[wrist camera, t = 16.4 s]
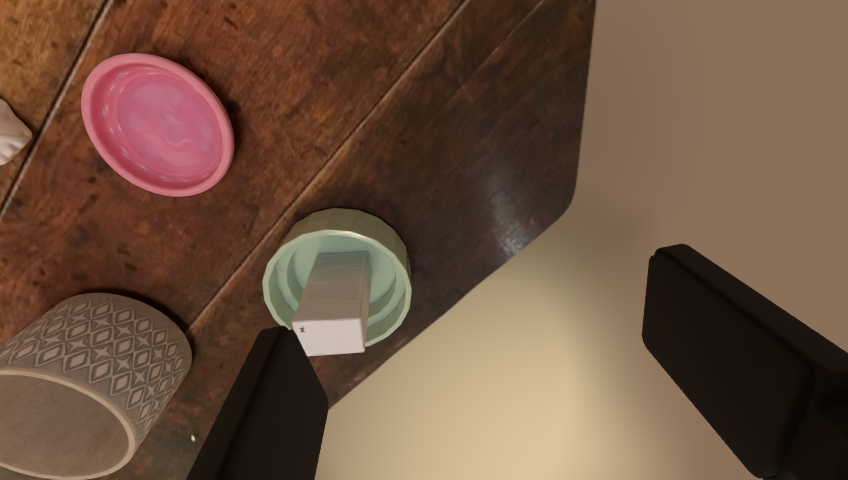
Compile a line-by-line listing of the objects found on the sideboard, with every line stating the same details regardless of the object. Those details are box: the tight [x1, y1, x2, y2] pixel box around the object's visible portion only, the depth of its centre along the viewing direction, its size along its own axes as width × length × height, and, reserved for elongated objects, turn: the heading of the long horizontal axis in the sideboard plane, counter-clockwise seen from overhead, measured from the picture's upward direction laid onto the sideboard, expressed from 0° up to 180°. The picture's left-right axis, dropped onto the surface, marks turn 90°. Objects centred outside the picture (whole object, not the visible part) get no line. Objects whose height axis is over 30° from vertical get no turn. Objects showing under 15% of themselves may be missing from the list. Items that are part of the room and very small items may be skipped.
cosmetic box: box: [291, 252, 371, 356], centre depth 38 cm, size 6×4×12 cm
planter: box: [0, 293, 192, 480], centre depth 41 cm, size 16×16×13 cm
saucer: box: [81, 53, 234, 196], centre depth 34 cm, size 12×12×3 cm
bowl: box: [263, 208, 412, 347], centre depth 41 cm, size 15×15×6 cm
